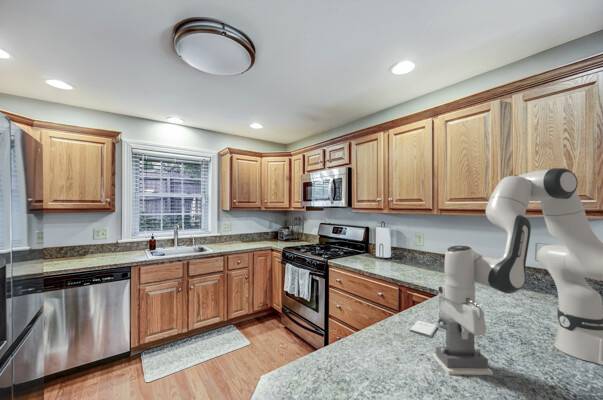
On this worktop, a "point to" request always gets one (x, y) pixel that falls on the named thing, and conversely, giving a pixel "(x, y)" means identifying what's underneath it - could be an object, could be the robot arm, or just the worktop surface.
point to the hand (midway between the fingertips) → (460, 335)
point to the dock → (462, 362)
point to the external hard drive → (423, 328)
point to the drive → (458, 338)
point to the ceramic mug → (442, 319)
